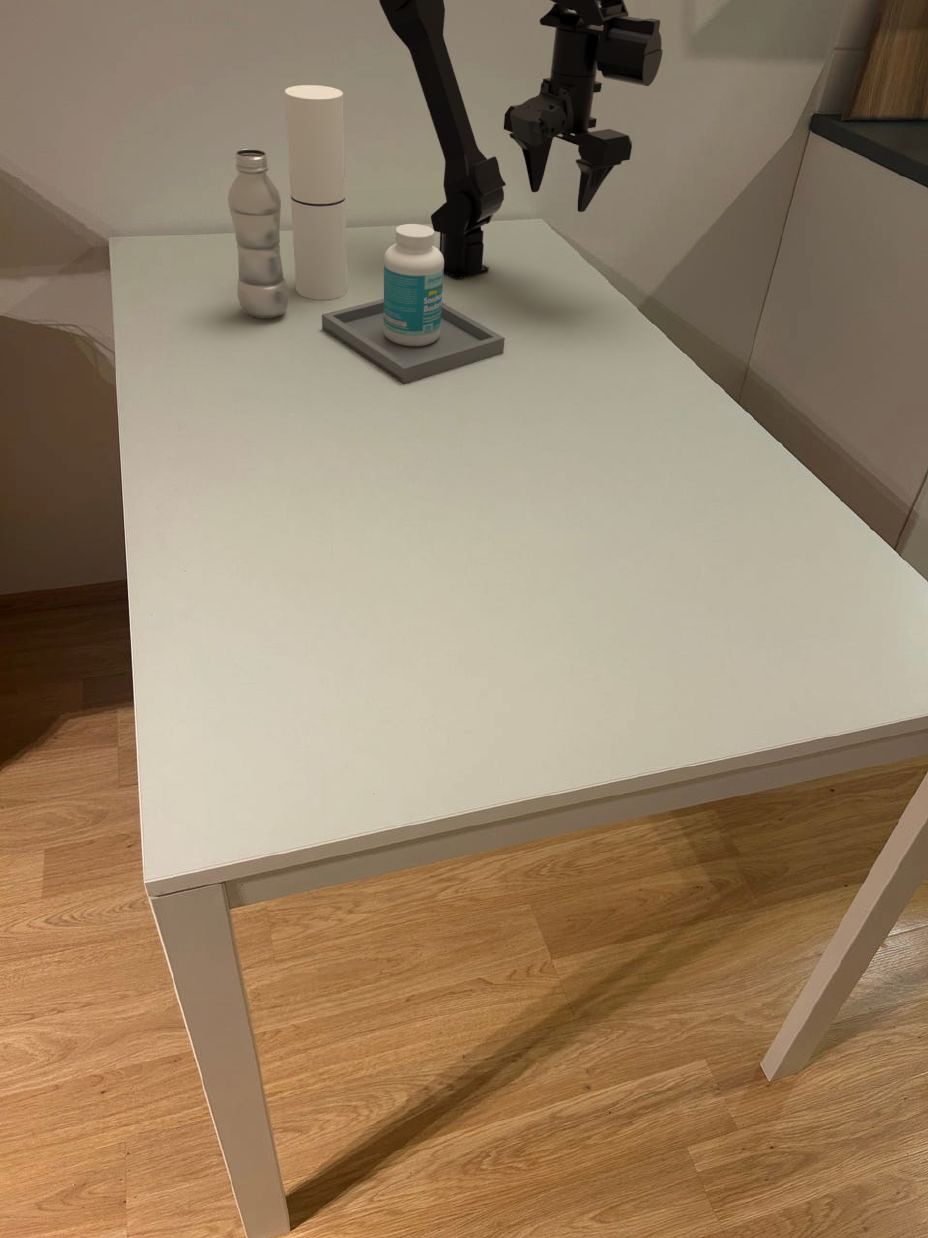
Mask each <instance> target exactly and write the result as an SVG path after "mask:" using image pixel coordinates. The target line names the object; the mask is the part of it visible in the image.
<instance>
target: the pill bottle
mask: <svg viewBox="0 0 928 1238" xmlns="http://www.w3.org/2000/svg"><path fill="white" fill-rule="evenodd" d="M394 239H395V242H396V243H394V244H392V245H391V246H389V247H388V249H387V250H386V251H385V253H384V257H383V299H384V310H383V330H384V334H385V336H386V337H387V338H388V339H389V340H391V341H392V342H394V343H397V344H400V345H405V346H424V345H428V344H431V343H433V342H434V341H436V340H437V339H438V337H439V335H440V329H441V309H442V303H443V290H444V289H443V288H444V274H445V273H444V258H443V255H442V253H441V252H440V251H439V248H437V247H436V246H434V242H435V231H434V229H433V227H431V226H428V225H423V224H419V223H407V224H406V223H405V224H400V225H398V226H397V227H396V229H395V237H394Z"/></svg>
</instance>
